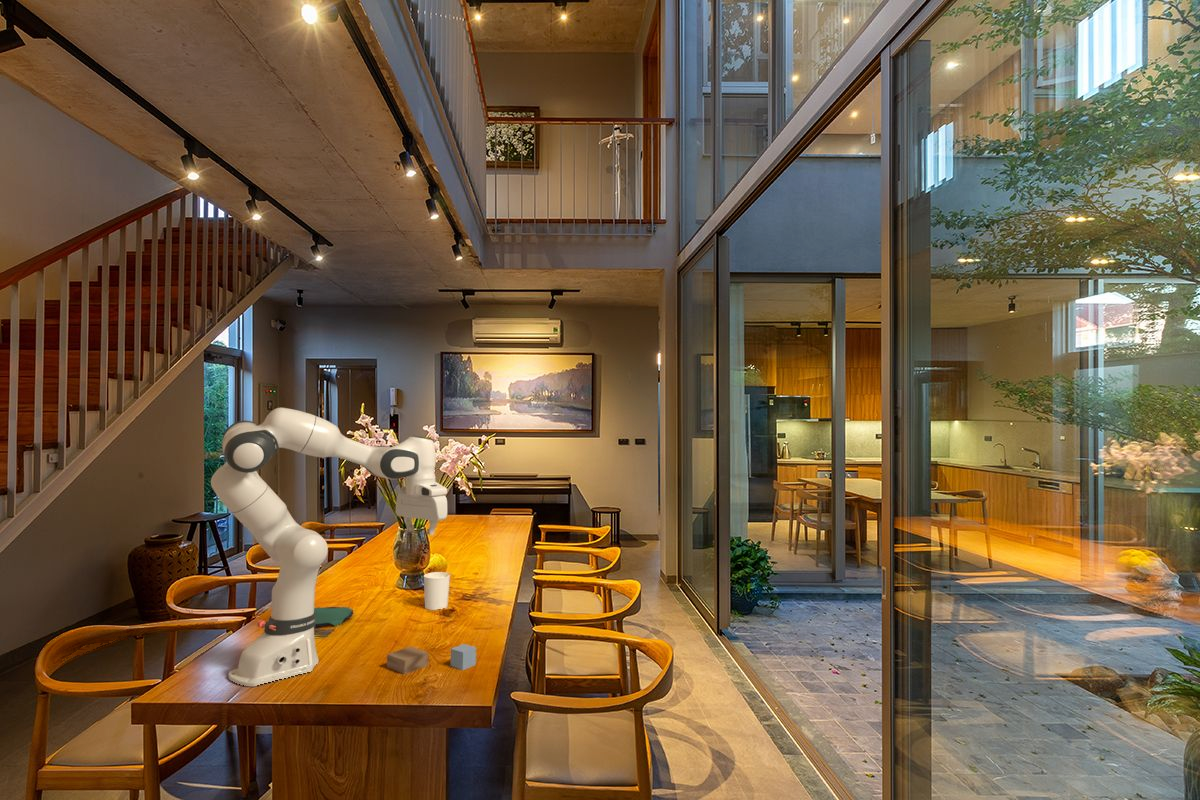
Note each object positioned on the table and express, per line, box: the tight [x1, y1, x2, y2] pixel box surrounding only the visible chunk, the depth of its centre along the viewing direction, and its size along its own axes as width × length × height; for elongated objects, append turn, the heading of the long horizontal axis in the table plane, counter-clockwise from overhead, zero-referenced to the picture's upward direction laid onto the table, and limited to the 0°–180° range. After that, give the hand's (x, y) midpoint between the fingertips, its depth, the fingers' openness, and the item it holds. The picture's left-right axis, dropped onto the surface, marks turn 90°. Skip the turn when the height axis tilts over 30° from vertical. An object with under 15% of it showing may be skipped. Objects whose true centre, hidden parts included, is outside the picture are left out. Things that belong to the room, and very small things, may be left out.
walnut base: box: [386, 646, 429, 675], centre depth 178 cm, size 8×8×4 cm
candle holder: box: [423, 571, 451, 611], centre depth 236 cm, size 10×10×12 cm
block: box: [450, 643, 477, 671], centre depth 179 cm, size 5×5×5 cm
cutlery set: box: [314, 606, 354, 638], centre depth 214 cm, size 20×30×2 cm, turn 5°
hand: (420, 532), depth 194 cm, fingers open, 8 cm apart
